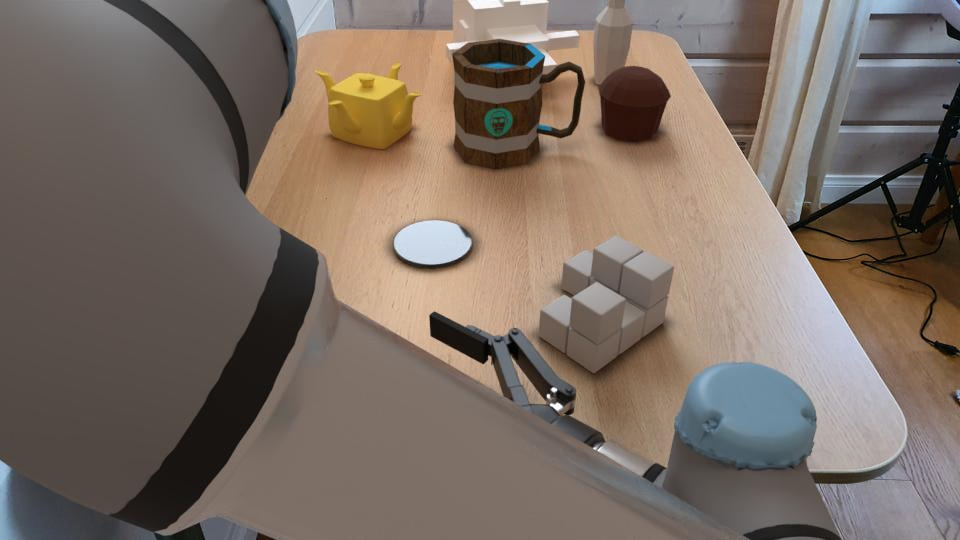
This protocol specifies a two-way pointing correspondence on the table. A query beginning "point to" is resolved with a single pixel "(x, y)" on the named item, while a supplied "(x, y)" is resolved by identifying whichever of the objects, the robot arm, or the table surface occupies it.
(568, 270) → the puzzle cube
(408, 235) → the round mirror
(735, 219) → the table surface
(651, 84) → the muffin
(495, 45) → the mug
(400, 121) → the teapot
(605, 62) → the low poly bottle
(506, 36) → the blocky voxel creature
